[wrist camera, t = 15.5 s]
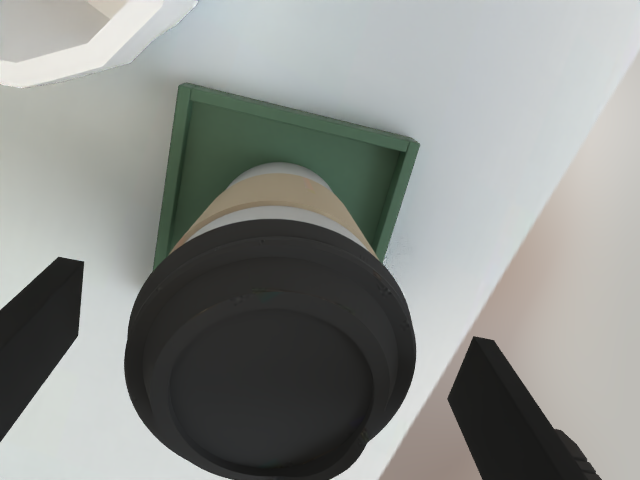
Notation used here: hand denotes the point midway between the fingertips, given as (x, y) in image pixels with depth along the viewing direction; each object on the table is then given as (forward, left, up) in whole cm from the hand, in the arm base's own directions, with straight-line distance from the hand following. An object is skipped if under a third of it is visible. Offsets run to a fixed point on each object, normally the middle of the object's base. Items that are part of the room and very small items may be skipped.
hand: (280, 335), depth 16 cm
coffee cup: (0, 0, -12) cm, 12 cm away
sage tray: (0, 0, -12) cm, 12 cm away
